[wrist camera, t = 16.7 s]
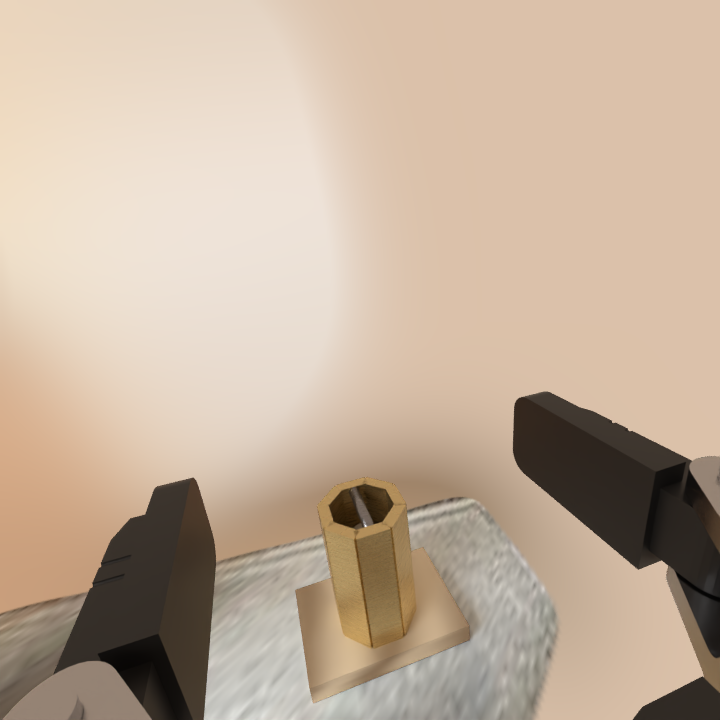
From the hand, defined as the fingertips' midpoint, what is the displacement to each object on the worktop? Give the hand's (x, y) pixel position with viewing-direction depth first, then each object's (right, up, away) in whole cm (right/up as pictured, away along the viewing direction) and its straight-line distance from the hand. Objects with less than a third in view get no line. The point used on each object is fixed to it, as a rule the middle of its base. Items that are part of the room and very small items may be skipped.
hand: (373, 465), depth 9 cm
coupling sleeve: (+1, -17, +21) cm, 27 cm away
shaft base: (+1, -19, +22) cm, 29 cm away
